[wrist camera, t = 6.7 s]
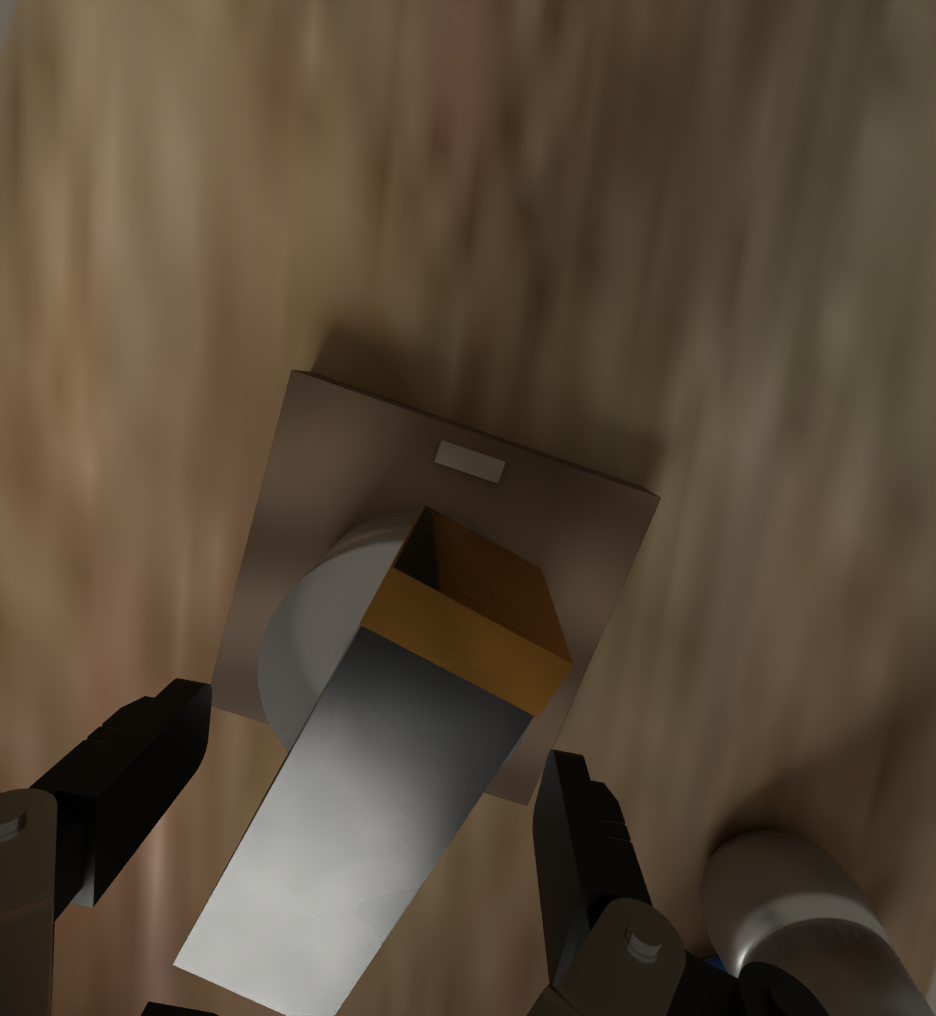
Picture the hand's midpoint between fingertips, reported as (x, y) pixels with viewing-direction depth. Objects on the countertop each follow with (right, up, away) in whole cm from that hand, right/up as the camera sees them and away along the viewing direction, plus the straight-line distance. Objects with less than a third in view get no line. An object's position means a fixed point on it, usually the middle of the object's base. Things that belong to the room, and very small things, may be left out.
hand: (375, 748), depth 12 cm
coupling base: (0, +2, +10) cm, 10 cm away
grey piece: (0, +2, +8) cm, 8 cm away
